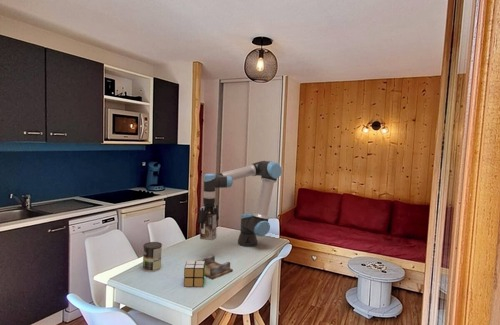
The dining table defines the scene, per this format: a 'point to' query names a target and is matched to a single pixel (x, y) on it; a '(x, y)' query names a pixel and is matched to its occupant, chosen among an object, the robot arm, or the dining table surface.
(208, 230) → the coffee box
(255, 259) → the dining table surface
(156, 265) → the coffee can
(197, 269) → the puzzle cube
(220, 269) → the rail dock
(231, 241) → the dining table surface
